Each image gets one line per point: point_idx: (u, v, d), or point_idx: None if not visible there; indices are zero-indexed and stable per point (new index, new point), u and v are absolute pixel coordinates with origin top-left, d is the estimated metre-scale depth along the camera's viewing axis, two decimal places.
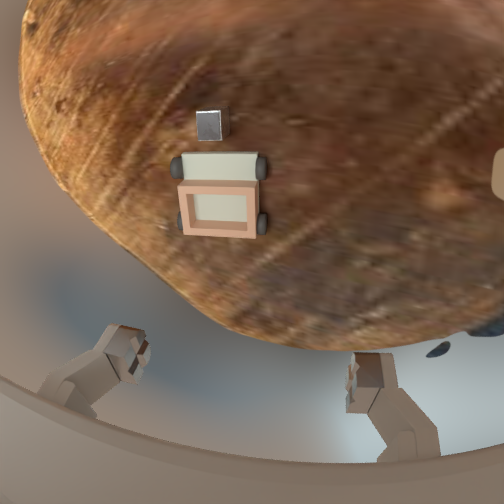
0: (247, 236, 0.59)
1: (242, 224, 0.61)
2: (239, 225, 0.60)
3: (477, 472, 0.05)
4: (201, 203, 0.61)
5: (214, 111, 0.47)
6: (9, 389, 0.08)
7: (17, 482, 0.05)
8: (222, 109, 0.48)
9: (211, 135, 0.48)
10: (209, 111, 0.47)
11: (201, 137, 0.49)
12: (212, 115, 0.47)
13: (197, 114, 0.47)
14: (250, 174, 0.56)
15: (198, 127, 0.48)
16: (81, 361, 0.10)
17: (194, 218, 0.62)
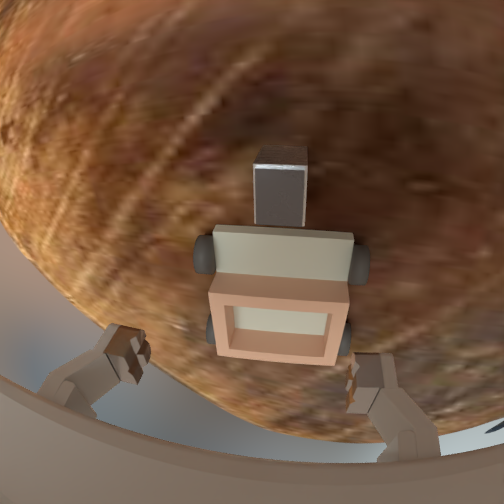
0: (322, 363, 0.35)
1: (312, 341, 0.37)
2: (308, 343, 0.37)
3: (477, 472, 0.05)
4: (245, 308, 0.37)
5: (295, 167, 0.23)
6: (9, 389, 0.08)
7: (17, 482, 0.05)
8: (307, 160, 0.24)
9: (284, 216, 0.24)
10: (283, 166, 0.23)
11: (263, 219, 0.25)
12: (291, 176, 0.23)
13: (257, 171, 0.23)
14: (336, 271, 0.32)
15: (258, 198, 0.24)
16: (81, 361, 0.10)
17: (233, 328, 0.38)
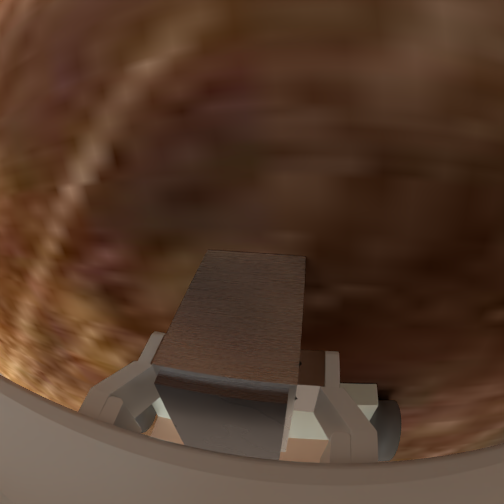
0: None
1: None
2: None
3: (477, 472, 0.05)
4: None
5: (261, 386, 0.08)
6: (9, 389, 0.08)
7: (17, 482, 0.05)
8: (300, 344, 0.09)
9: (240, 449, 0.10)
10: (230, 379, 0.08)
11: (197, 445, 0.10)
12: (250, 409, 0.08)
13: (161, 389, 0.08)
14: None
15: (178, 424, 0.09)
16: (126, 374, 0.10)
17: None
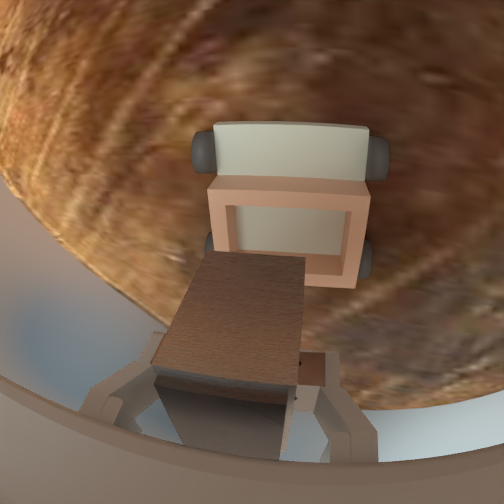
0: (340, 284, 0.31)
1: (328, 260, 0.32)
2: (323, 262, 0.32)
3: (477, 472, 0.05)
4: (250, 220, 0.33)
5: (261, 387, 0.08)
6: (9, 389, 0.08)
7: (17, 482, 0.05)
8: None
9: (240, 450, 0.10)
10: (229, 380, 0.08)
11: (197, 445, 0.10)
12: (249, 410, 0.08)
13: (161, 389, 0.08)
14: (352, 168, 0.28)
15: (177, 424, 0.09)
16: (126, 374, 0.10)
17: (236, 248, 0.34)
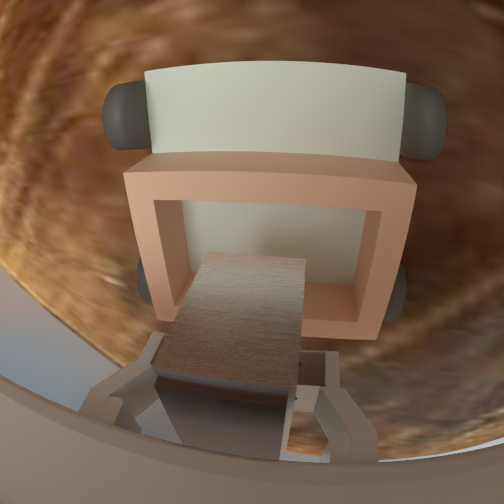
0: (353, 335, 0.18)
1: (333, 294, 0.20)
2: (325, 297, 0.19)
3: (477, 472, 0.05)
4: (207, 228, 0.20)
5: (261, 389, 0.08)
6: (9, 389, 0.08)
7: (17, 482, 0.05)
8: None
9: (240, 451, 0.10)
10: (229, 382, 0.08)
11: (197, 446, 0.10)
12: (249, 411, 0.08)
13: (161, 391, 0.08)
14: (378, 139, 0.15)
15: (178, 425, 0.09)
16: (126, 374, 0.10)
17: (187, 271, 0.21)
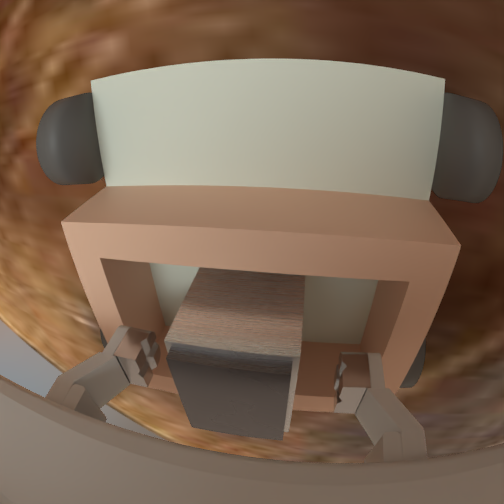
0: None
1: (336, 358, 0.15)
2: (326, 363, 0.15)
3: (477, 472, 0.05)
4: (179, 279, 0.16)
5: (266, 359, 0.09)
6: (9, 389, 0.08)
7: (17, 482, 0.05)
8: (302, 322, 0.10)
9: (245, 428, 0.10)
10: (237, 353, 0.09)
11: (204, 424, 0.11)
12: (256, 382, 0.09)
13: (173, 364, 0.09)
14: (405, 170, 0.11)
15: (186, 401, 0.10)
16: (91, 364, 0.10)
17: (158, 326, 0.17)
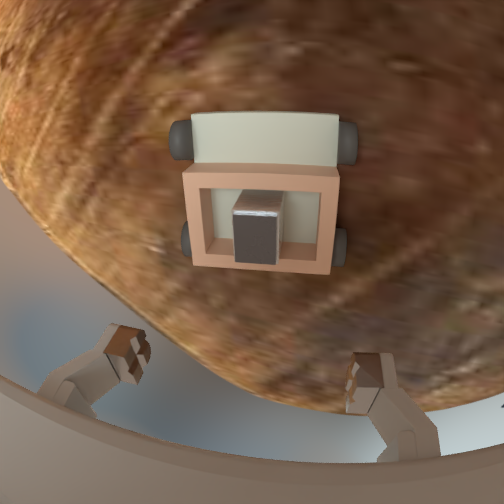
0: (314, 271, 0.31)
1: (302, 247, 0.33)
2: (297, 249, 0.33)
3: (477, 472, 0.05)
4: (226, 208, 0.33)
5: (268, 213, 0.26)
6: (9, 389, 0.08)
7: (17, 482, 0.05)
8: (280, 205, 0.27)
9: (259, 256, 0.28)
10: (258, 212, 0.26)
11: (241, 258, 0.28)
12: (264, 221, 0.26)
13: (234, 217, 0.26)
14: (324, 154, 0.29)
15: (236, 240, 0.27)
16: (81, 361, 0.10)
17: (212, 235, 0.34)
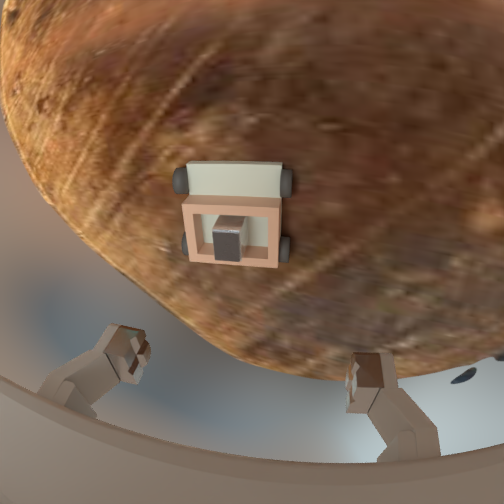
0: (267, 265, 0.49)
1: (261, 250, 0.50)
2: (257, 251, 0.50)
3: (477, 472, 0.05)
4: (210, 223, 0.51)
5: (233, 231, 0.43)
6: (9, 389, 0.08)
7: (17, 482, 0.05)
8: (242, 225, 0.45)
9: (229, 256, 0.45)
10: (227, 230, 0.44)
11: (218, 257, 0.46)
12: (231, 236, 0.43)
13: (213, 233, 0.44)
14: (272, 190, 0.46)
15: (215, 247, 0.45)
16: (81, 361, 0.10)
17: (202, 241, 0.52)
